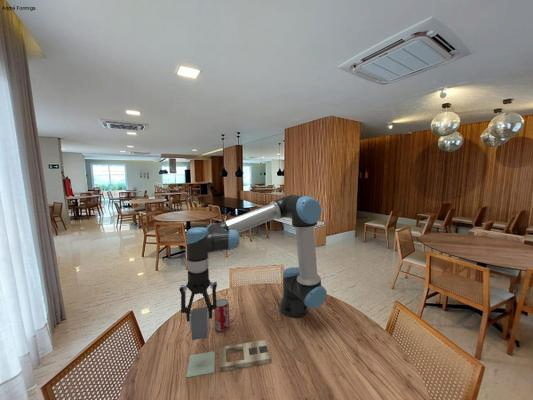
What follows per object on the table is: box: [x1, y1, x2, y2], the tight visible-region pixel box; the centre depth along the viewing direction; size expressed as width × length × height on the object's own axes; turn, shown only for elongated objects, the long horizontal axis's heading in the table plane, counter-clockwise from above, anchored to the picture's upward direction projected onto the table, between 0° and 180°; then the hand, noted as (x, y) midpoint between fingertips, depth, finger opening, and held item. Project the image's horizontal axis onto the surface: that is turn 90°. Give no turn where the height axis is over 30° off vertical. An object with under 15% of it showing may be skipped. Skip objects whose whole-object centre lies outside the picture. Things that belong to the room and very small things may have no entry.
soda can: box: [213, 298, 231, 332], centre depth 106 cm, size 7×7×13 cm
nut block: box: [190, 306, 209, 341], centre depth 83 cm, size 6×6×9 cm
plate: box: [219, 339, 272, 373], centre depth 88 cm, size 20×10×2 cm, turn 102°
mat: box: [185, 351, 216, 379], centre depth 85 cm, size 10×10×1 cm
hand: (200, 326), depth 84 cm, fingers closed on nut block, 5 cm apart
